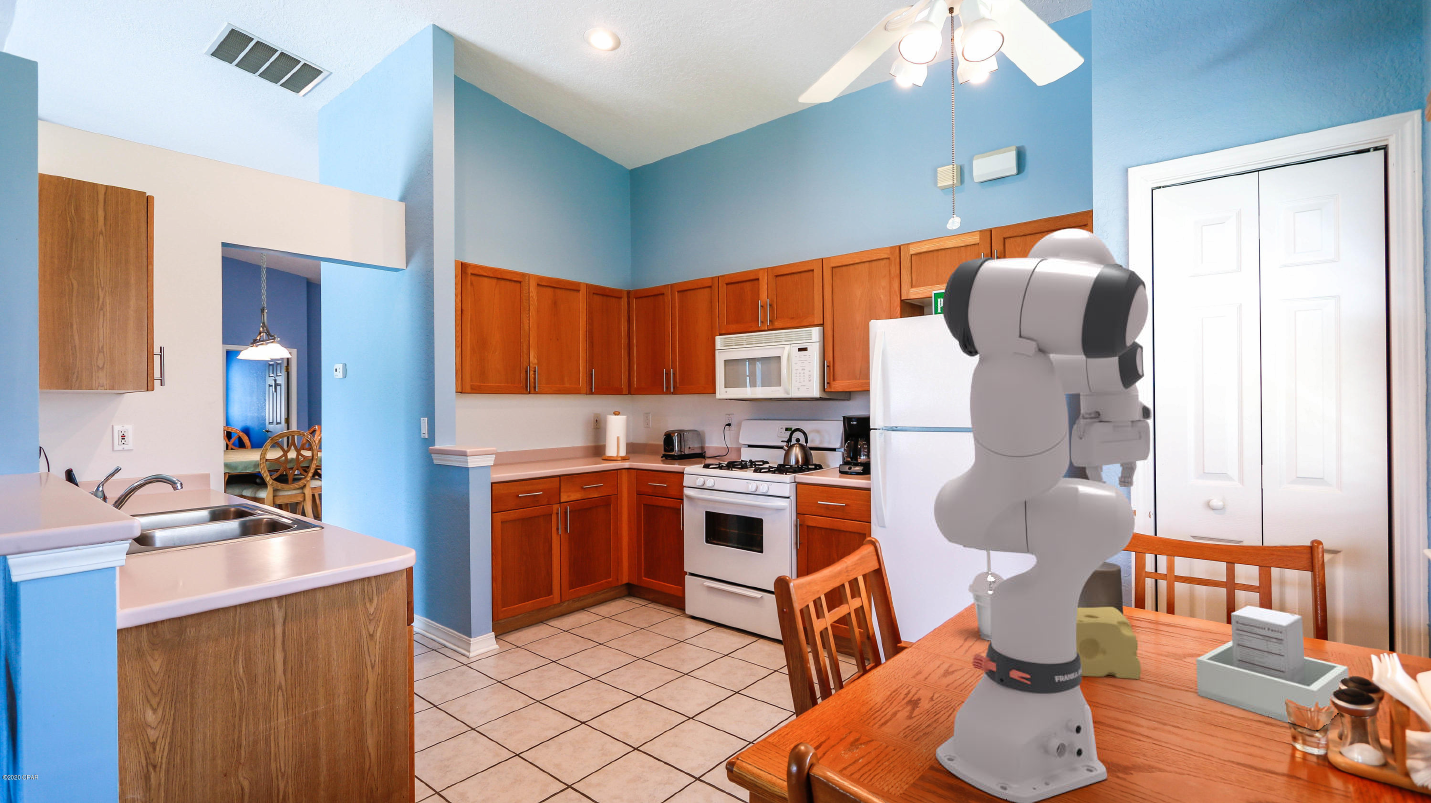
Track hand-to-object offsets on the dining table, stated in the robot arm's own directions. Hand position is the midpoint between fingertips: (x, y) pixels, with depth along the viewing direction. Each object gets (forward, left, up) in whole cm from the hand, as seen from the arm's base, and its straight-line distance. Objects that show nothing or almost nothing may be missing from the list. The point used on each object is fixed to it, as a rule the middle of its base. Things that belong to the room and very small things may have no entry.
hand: (1112, 489), depth 111 cm
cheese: (+4, +6, -34) cm, 35 cm away
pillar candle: (+26, +17, -34) cm, 46 cm away
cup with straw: (+2, +27, -34) cm, 44 cm away
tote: (+13, -17, -34) cm, 40 cm away
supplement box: (+13, -17, -33) cm, 39 cm away
